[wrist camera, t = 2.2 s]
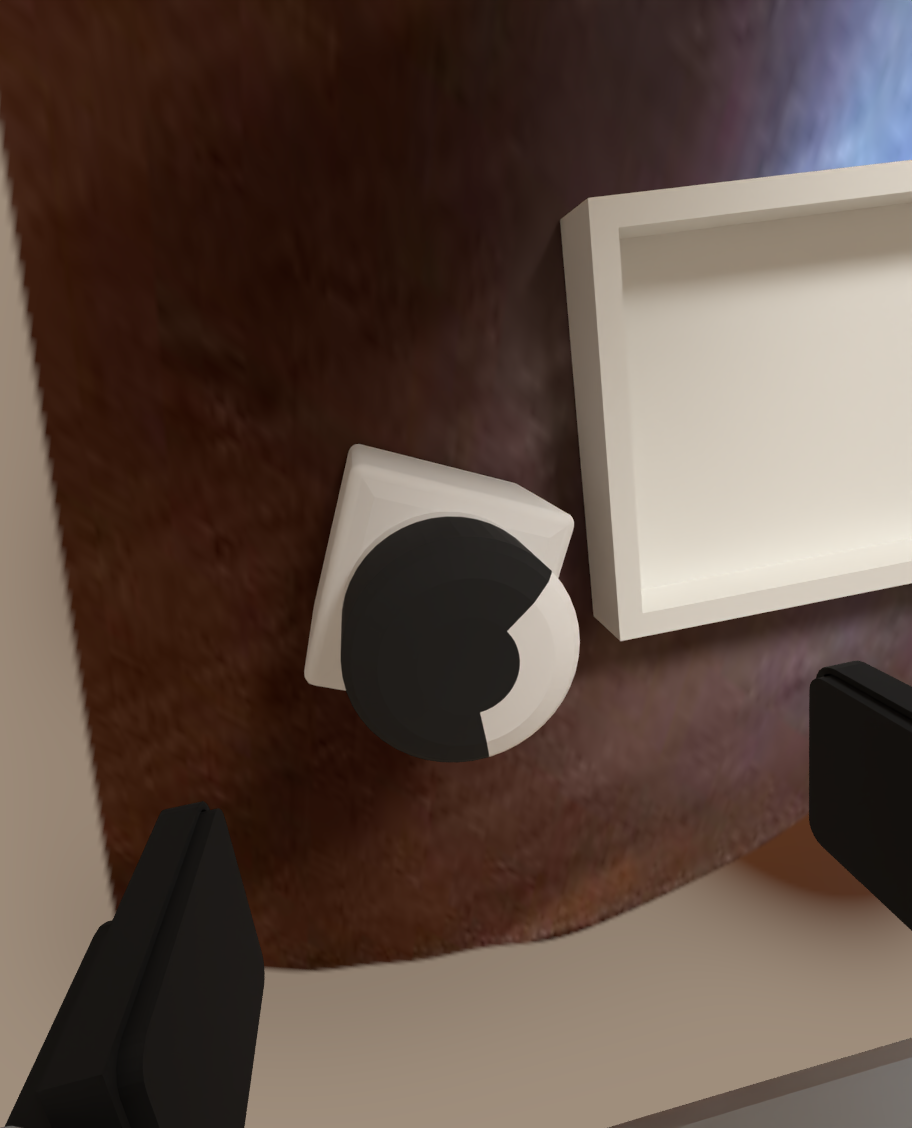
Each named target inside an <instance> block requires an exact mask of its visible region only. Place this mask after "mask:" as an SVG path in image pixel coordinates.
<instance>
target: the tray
mask: <svg viewBox="0 0 912 1128" xmlns="http://www.w3.org/2000/svg"><path fill="white" fill-rule="evenodd" d="M560 226H561V238H562V250H563V262H564V273H565V285H566V297H567V309H568V321H569V332H570V344H571V356H572V368H573V380H574V391H575V403H576V415H577V427H578V439H579V450H580V462H581V474H582V486H583V498H584V509H585V521H586V533H587V545H588V557H589V568H590V580H591V592H592V604H593V616H594V617H595V618H596V619H597V620H598V621H599V622H600V623H601V624H603V625H604V626H605V627H606V628H607V629H608V630H609V631H610V632H611V633H612V634H613V635H614V636H615V637H616V638H617V639H619V640H620V641H624V640H629V639H634V638H639V637H644V636H649V635H654V634H659V633H664V632H669V631H674V630H679V629H684V628H690V627H695V626H700V625H705V624H710V623H715V622H720V621H725V620H730V619H735V618H740V617H745V616H750V615H755V614H760V613H765V612H770V611H775V610H780V609H785V608H790V607H795V606H800V605H805V604H810V603H815V602H820V601H825V600H830V599H835V598H840V597H845V596H850V595H855V594H860V593H865V592H870V591H875V590H880V589H885V588H890V587H895V586H900V585H905V584H910V583H912V160H907V161H899V162H890V163H882V164H873V165H865V166H856V167H848V168H839V169H830V170H822V171H813V172H805V173H796V174H788V175H779V176H771V177H762V178H754V179H745V180H737V181H728V182H720V183H711V184H703V185H694V186H686V187H677V188H669V189H660V190H652V191H643V192H635V193H626V194H617V195H609V196H600V197H592V198H587V199H586V200H585V201H583V202H582V203H581V204H580V205H578V206H577V207H576V208H574V209H573V210H572V211H570V212H569V213H568V214H567V215H565V216H564V217H563V218H561V219H560Z"/></svg>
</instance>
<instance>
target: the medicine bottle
mask: <svg viewBox="0 0 912 1128" xmlns="http://www.w3.org/2000/svg"><path fill="white" fill-rule="evenodd" d="M573 529H574V520H573V518H572V516H571V515H569V514H568V513H566V512H564V511H562V510H561V509H559V508H557V507H556V506H554V505H552V504H550V503H549V502H547V501H545V500H544V499H542V498H540V497H538V496H537V495H535V494H533V493H532V492H530V491H528V490H526V489H525V488H523V487H521V486H519V485H518V484H516V483H512V482H508V481H504V480H500V479H497V478H493V477H489V476H485V475H481V474H477V473H473V472H469V471H465V470H461V469H457V468H453V467H449V466H445V465H441V464H437V463H433V462H429V461H425V460H421V459H417V458H413V457H409V456H406V455H402V454H398V453H394V452H390V451H386V450H382V449H378V448H374V447H370V446H366V445H362V444H355V445H353V446H352V447H351V448H350V450H349V452H348V457H347V461H346V465H345V470H344V474H343V479H342V483H341V488H340V492H339V497H338V501H337V505H336V510H335V514H334V519H333V523H332V528H331V532H330V536H329V541H328V545H327V550H326V554H325V559H324V563H323V568H322V572H321V576H320V581H319V585H318V590H317V594H316V599H315V603H314V608H313V615H312V622H311V629H310V635H309V642H308V649H307V656H306V662H305V669H304V676H305V679H306V680H307V681H308V683H310V684H312V685H315V686H321V687H327V688H333V689H339V690H345V691H346V692H347V694H348V697H349V699H350V701H351V703H352V706H353V707H354V709H355V710H356V712H357V714H358V715H359V717H360V718H361V720H362V721H363V722H364V723H365V724H366V725H367V726H368V728H369V729H370V730H371V731H372V732H373V733H375V734H376V735H377V736H378V737H379V738H380V739H382V740H383V741H384V742H386V743H388V744H389V745H391V746H392V747H394V748H396V749H397V750H400V751H402V752H404V753H406V754H409V755H411V756H415V757H418V758H422V759H425V760H431V761H438V762H465V761H474V760H478V759H483V758H487V757H490V756H493V755H496V754H499V753H501V752H504V751H506V750H508V749H510V748H512V747H514V746H516V745H518V744H519V743H521V742H522V741H524V740H525V739H527V738H528V737H530V736H531V735H532V734H534V733H535V732H536V731H537V730H538V729H539V728H541V727H542V726H543V725H544V724H545V723H546V722H547V720H548V719H549V718H550V717H551V716H552V715H553V714H554V713H555V711H556V710H557V708H558V707H559V705H560V704H561V703H562V701H563V699H564V698H565V696H566V694H567V692H568V690H569V688H570V686H571V683H572V680H573V677H574V675H575V672H576V667H577V663H578V658H579V646H580V637H579V625H578V621H577V616H576V612H575V609H574V606H573V604H572V601H571V599H570V596H569V595H568V593H567V591H566V590H565V588H564V586H563V584H562V583H561V582H560V580H559V579H558V577H559V574H560V571H561V568H562V564H563V561H564V558H565V555H566V551H567V548H568V545H569V542H570V539H571V535H572V532H573Z"/></svg>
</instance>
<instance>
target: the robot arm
mask: <svg viewBox="0 0 912 1128" xmlns="http://www.w3.org/2000/svg"><path fill="white" fill-rule="evenodd" d="M809 821H810V826H811V830H812V832H813V834H814V836H815V838H816V839H817V841H818V842H819V843H820V844H821V846H822V847H823V848H825V849H826V850H827V851H828V852H829V853H830V854H831V855H832V856H833V857H834V858H835V859H836V860H837V861H838V862H839V863H840V864H842V866H844V867H845V868H846V869H847V870H848V871H849V872H850V873H851V874H852V875H853V876H854V877H855V878H856V879H857V880H858V881H859V882H861V883H862V884H863V885H864V886H865V887H866V888H867V889H868V890H869V891H870V892H871V893H872V894H874V896H875V897H877V898H878V899H879V900H880V901H881V902H882V903H883V904H884V905H885V906H886V907H887V908H888V909H889V910H891V912H892V913H894V914H895V915H896V916H897V917H898V918H899V919H900V920H901V921H902V922H903V923H904V924H905V925H906V926H907V927H909V928H910V929H911V930H912V687H911V686H909V685H907V684H905V683H903V682H901V681H899V680H897V679H895V678H893V677H892V676H890V675H888V674H886V673H884V672H882V671H880V670H878V669H876V668H874V667H872V666H870V665H868V664H866V663H864V662H861V661H852V662H847V663H843V664H838V665H833V666H829V667H824V668H822V669H821V670H819V672H818V674H817V677H816V679H814V680H813V681H812V682H811V684H810V699H809ZM263 989H264V962H263V956H262V952H261V948H260V945H259V941H258V937H257V934H256V930H255V926H254V923H253V919H252V915H251V912H250V908H249V904H248V901H247V897H246V894H245V890H244V886H243V883H242V879H241V875H240V872H239V868H238V864H237V861H236V857H235V854H234V850H233V846H232V843H231V839H230V835H229V832H228V828H227V824H226V821H225V817H224V814H223V812H222V810H221V809H219V808H218V809H214V810H210V809H209V807H208V805H207V804H206V803H205V802H204V801H202V802H198V803H193V804H189V805H184V806H179V807H175V808H170V809H165V810H163V811H162V812H161V813H160V815H159V817H158V819H157V822H156V824H155V826H154V828H153V831H152V833H151V835H150V837H149V840H148V842H147V844H146V846H145V849H144V851H143V853H142V855H141V858H140V860H139V862H138V864H137V867H136V869H135V871H134V873H133V876H132V878H131V880H130V882H129V885H128V887H127V889H126V891H125V893H124V896H123V898H122V900H121V902H120V905H119V907H118V909H117V911H116V914H115V916H114V918H113V920H112V921H108V922H106V923H104V924H103V925H101V926H100V927H99V929H98V930H97V932H96V933H95V935H94V937H93V939H92V941H91V943H90V946H89V948H88V950H87V952H86V954H85V956H84V958H83V960H82V962H81V965H80V967H79V969H78V971H77V973H76V975H75V977H74V979H73V982H72V984H71V986H70V988H69V990H68V992H67V994H66V997H65V999H64V1001H63V1003H62V1005H61V1007H60V1009H59V1012H58V1014H57V1016H56V1018H55V1020H54V1022H53V1024H52V1027H51V1029H50V1031H49V1033H48V1035H47V1037H46V1040H45V1042H44V1044H43V1046H42V1048H41V1050H40V1052H39V1054H38V1057H37V1059H36V1061H35V1063H34V1065H33V1068H32V1070H31V1072H30V1074H29V1076H28V1078H27V1080H26V1082H25V1084H24V1086H23V1089H22V1091H21V1093H20V1095H19V1097H18V1099H17V1102H16V1104H15V1106H14V1108H13V1110H12V1112H11V1114H10V1116H9V1119H8V1121H7V1123H6V1125H5V1127H2V1128H244V1126H245V1118H246V1111H247V1103H248V1097H249V1090H250V1083H251V1075H252V1068H253V1061H254V1054H255V1046H256V1039H257V1031H258V1025H259V1017H260V1010H261V1003H262V996H263ZM609 1128H912V1038H909V1039H906V1040H902V1041H899V1042H896V1043H892V1044H889V1045H886V1046H882V1047H879V1048H875V1049H872V1050H869V1051H865V1052H862V1053H858V1054H855V1055H851V1056H848V1057H845V1058H841V1059H838V1060H834V1061H831V1062H828V1063H824V1064H821V1065H817V1066H814V1067H811V1068H807V1069H804V1070H800V1071H797V1072H794V1073H790V1074H787V1075H783V1076H780V1077H777V1078H773V1079H770V1080H766V1081H764V1082H760V1083H756V1084H753V1085H750V1086H746V1087H743V1088H739V1089H736V1090H733V1091H729V1092H726V1093H723V1094H719V1095H716V1096H712V1097H709V1098H706V1099H703V1100H699V1101H696V1102H692V1103H689V1104H686V1105H682V1106H679V1107H675V1108H672V1109H669V1110H665V1111H662V1112H659V1113H655V1114H652V1115H648V1116H645V1117H642V1118H639V1119H635V1120H632V1121H629V1122H625V1123H622V1124H619V1125H616V1126H612V1127H609Z"/></svg>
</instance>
